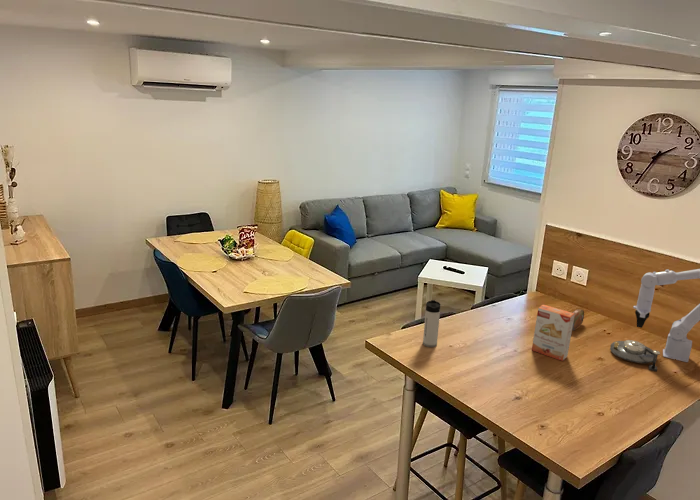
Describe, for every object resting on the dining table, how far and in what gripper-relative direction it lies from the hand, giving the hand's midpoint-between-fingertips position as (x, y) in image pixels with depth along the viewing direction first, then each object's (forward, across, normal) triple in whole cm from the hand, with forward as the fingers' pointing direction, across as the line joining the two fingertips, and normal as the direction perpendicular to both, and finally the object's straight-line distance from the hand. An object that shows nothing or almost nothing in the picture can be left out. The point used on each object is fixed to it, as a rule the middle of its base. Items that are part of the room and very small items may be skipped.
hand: (639, 326), depth 239 cm
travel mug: (+10, +51, -81) cm, 96 cm away
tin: (+10, -6, -27) cm, 29 cm away
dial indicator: (+9, +20, +6) cm, 22 cm away
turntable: (+8, +12, -1) cm, 15 cm away
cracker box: (+10, +31, -33) cm, 46 cm away
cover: (+7, +12, -1) cm, 14 cm away
